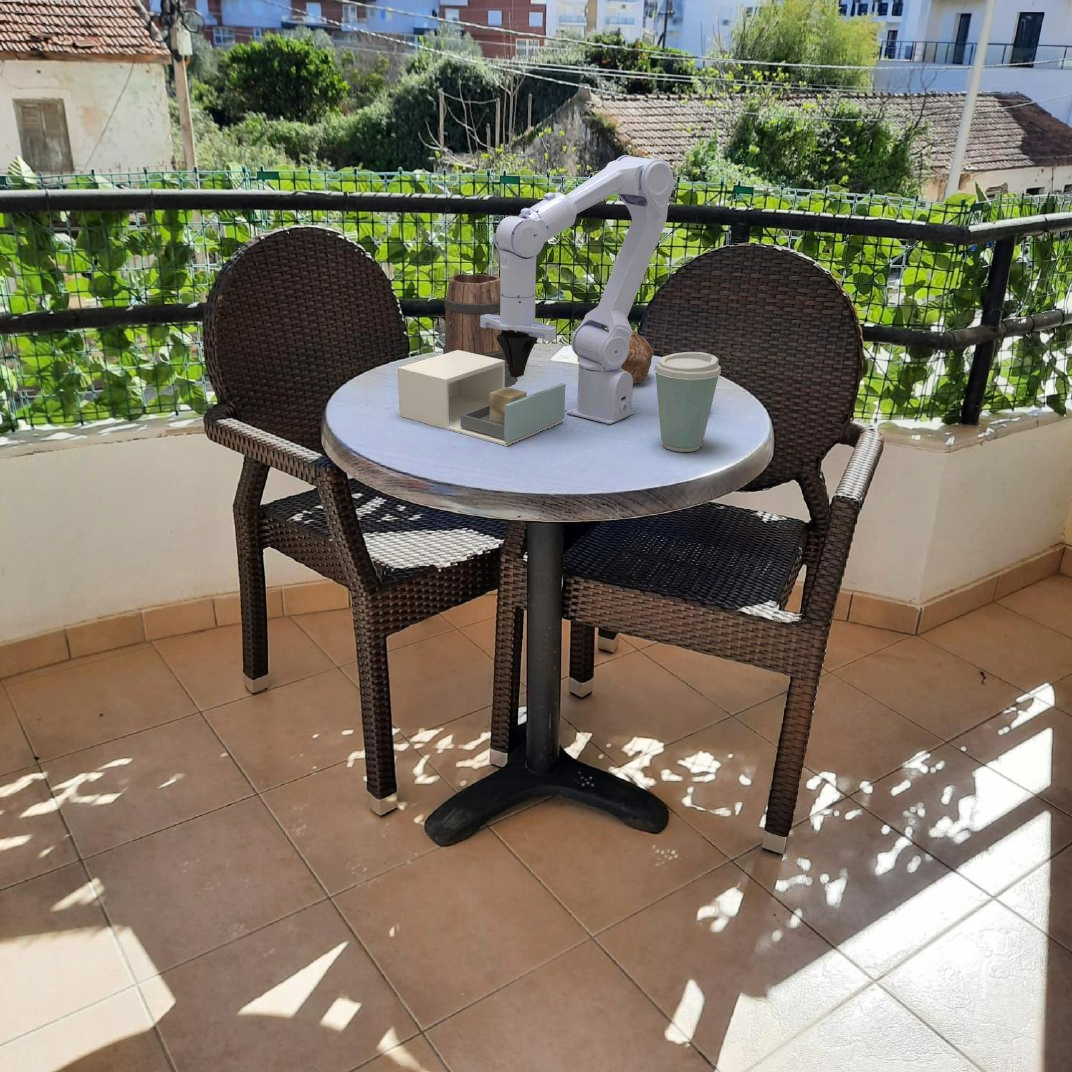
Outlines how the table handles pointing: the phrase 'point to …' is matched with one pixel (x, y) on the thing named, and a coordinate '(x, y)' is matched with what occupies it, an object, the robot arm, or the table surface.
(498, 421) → the birch block
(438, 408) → the console box
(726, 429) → the table surface
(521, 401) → the teal drawer
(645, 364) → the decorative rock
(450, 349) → the tankard
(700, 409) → the disposable coffee cup
